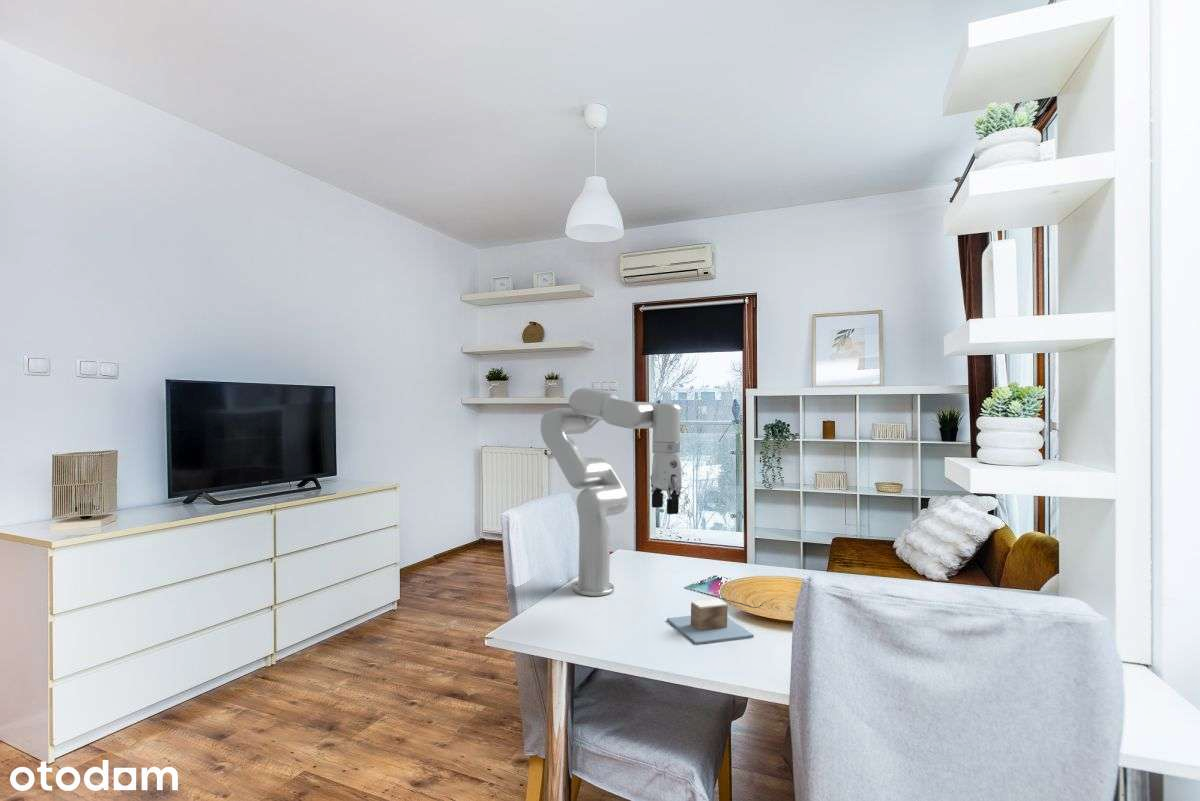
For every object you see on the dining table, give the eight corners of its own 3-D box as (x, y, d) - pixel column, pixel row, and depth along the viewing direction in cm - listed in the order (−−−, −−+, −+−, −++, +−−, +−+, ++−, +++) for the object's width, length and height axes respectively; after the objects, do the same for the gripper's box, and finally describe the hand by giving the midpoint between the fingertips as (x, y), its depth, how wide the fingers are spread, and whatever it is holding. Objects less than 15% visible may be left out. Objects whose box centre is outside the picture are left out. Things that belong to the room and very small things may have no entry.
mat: (667, 620, 153) (667, 618, 153) (720, 614, 158) (720, 612, 158) (696, 644, 138) (696, 642, 138) (753, 637, 143) (753, 634, 143)
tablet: (714, 577, 195) (715, 574, 195) (785, 594, 178) (785, 591, 178) (682, 589, 181) (682, 587, 181) (756, 609, 164) (756, 607, 164)
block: (699, 631, 145) (699, 607, 145) (690, 624, 149) (691, 601, 149) (727, 627, 147) (727, 604, 147) (717, 621, 152) (718, 598, 152)
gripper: (693, 450, 151) (691, 516, 151) (664, 445, 168) (663, 504, 168) (667, 451, 149) (665, 517, 149) (641, 445, 165) (639, 505, 165)
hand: (664, 510), depth 158 cm, fingers open, 9 cm apart
